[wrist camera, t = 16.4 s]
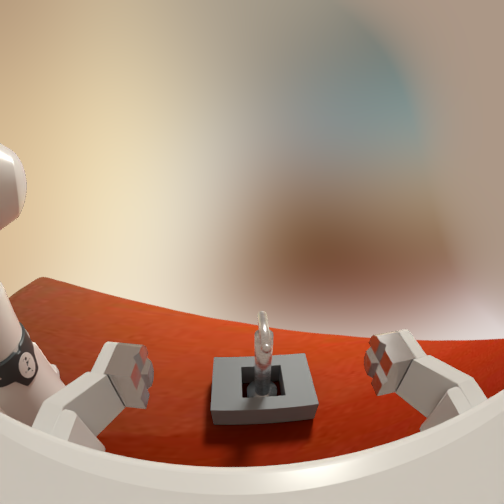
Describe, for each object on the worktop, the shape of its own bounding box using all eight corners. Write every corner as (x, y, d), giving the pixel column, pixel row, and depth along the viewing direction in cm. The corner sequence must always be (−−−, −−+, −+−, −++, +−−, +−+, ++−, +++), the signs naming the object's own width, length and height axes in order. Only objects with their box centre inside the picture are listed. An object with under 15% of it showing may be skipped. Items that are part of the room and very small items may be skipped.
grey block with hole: (213, 424, 32) (210, 410, 31) (216, 373, 41) (214, 357, 40) (313, 418, 33) (318, 403, 31) (301, 369, 42) (304, 353, 40)
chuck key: (248, 416, 34) (246, 349, 28) (246, 379, 40) (244, 309, 35) (279, 414, 34) (287, 347, 28) (274, 378, 41) (279, 308, 35)
